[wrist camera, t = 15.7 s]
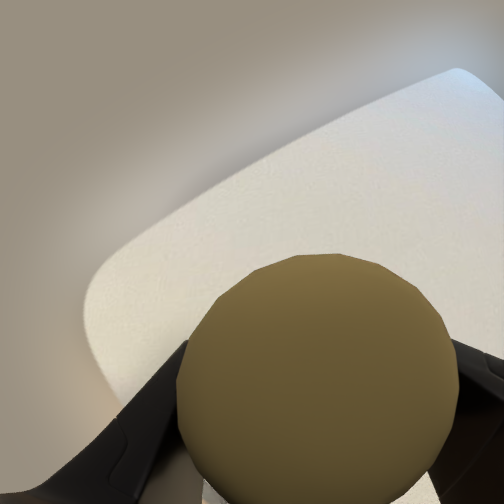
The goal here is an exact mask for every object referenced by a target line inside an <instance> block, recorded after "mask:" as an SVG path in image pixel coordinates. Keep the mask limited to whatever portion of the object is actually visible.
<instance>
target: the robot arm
mask: <svg viewBox="0 0 504 504" xmlns="http://www.w3.org/2000/svg"><path fill="white" fill-rule="evenodd" d="M450 339H451V338H450ZM188 341H189V340H185V341H184V342H183V343H182V344H181V345H180V346H179V348H178V349H177V350H176V351H175V352H174V353H173V354H172V355H171V356H170V358H169V359H168V360H167V361H166V362H165V363H164V364H163V365H162V366H161V368H160V369H159V370H158V371H157V372H156V373H155V374H154V375H153V376H152V378H151V379H150V380H149V381H148V382H147V383H146V384H145V385H144V386H143V387H142V389H141V390H140V391H139V392H138V393H137V394H136V395H135V396H134V397H133V399H132V400H131V401H130V402H129V403H128V404H127V405H126V406H125V407H124V408H123V409H122V411H121V412H120V413H119V414H118V415H117V416H116V418H117V419H116V418H114V419H113V420H112V422H110V424H109V425H108V426H107V427H106V428H105V429H104V430H103V431H102V432H101V433H100V434H99V435H98V436H97V437H96V438H95V439H94V440H93V441H92V442H91V443H90V444H89V445H88V446H87V447H85V449H83V450H82V451H81V452H80V453H79V454H78V455H76V456H75V457H74V458H73V459H72V460H71V461H69V462H68V463H67V464H66V465H65V466H64V467H62V468H61V469H60V470H59V471H57V472H56V473H55V474H54V475H53V476H51V477H50V478H49V479H48V480H46V481H45V482H44V483H42V484H41V485H39V486H37V487H35V488H33V489H31V490H27V491H24V492H16V493H6V494H0V504H202V493H203V477H202V476H201V475H200V474H199V472H198V471H197V470H196V468H195V466H194V464H193V461H192V459H191V457H190V455H189V452H188V450H187V448H186V445H185V443H184V440H183V438H182V436H181V433H180V431H179V428H178V413H177V388H176V379H177V376H178V373H179V370H180V366H181V363H182V360H183V357H184V353H185V350H186V347H187V344H188ZM451 341H452V344H453V346H454V349H455V352H456V360H457V369H458V380H459V394H458V399H457V405H456V410H455V415H454V420H453V424H452V428H451V430H450V433H449V435H448V437H447V439H446V441H445V443H444V445H443V447H442V449H441V450H440V452H439V454H438V456H437V458H436V460H435V461H434V463H433V465H432V466H431V467H430V468H429V469H428V470H427V472H428V474H429V476H430V479H431V481H432V483H433V486H434V488H435V490H436V493H437V495H438V497H439V501H440V503H441V504H504V360H502V359H500V358H497V357H494V356H492V355H490V354H487V353H483V352H482V351H480V350H477V349H475V348H473V347H470V346H468V345H465V344H463V343H460V342H458V341H455V340H453V339H451Z"/></svg>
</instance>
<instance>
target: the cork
mask: <svg viewBox="0 0 504 504" xmlns="http://www.w3.org/2000/svg"><path fill="white" fill-rule="evenodd" d="M176 388H177V413H178V428H179V431H180V433H181V436H182V438H183V440H184V443H185V445H186V448H187V450H188V452H189V455H190V457H191V459H192V461H193V464H194V466H195V468H196V470H197V471H198V472H199V474H200V475H201V476H202V477H203V478H204V479H205V480H206V481H207V482H208V483H209V484H210V485H211V486H212V487H213V488H214V489H215V490H216V491H217V492H218V493H219V494H220V495H221V496H222V497H223V498H224V499H225V500H226V501H227V502H228V503H229V504H389V503H391V502H393V501H395V500H396V499H398V498H399V497H401V496H403V495H404V494H405V493H406V492H407V491H408V490H409V489H410V488H411V487H412V486H413V485H414V484H415V483H416V482H417V481H418V480H419V479H420V478H421V477H422V476H423V475H424V474H425V473H426V471H427V470H428V469H429V468H430V467H431V466H432V465H433V463H434V461H435V460H436V458H437V456H438V454H439V452H440V450H441V449H442V447H443V445H444V443H445V441H446V439H447V437H448V435H449V433H450V430H451V428H452V424H453V420H454V415H455V410H456V405H457V399H458V394H459V380H458V369H457V360H456V352H455V349H454V346H453V344H452V341H451V339H450V336H449V334H448V332H447V329H446V327H445V325H444V322H443V320H442V318H441V316H440V315H439V313H438V312H437V311H436V310H435V309H434V307H433V306H432V305H431V304H430V303H429V301H428V300H427V299H426V298H425V297H424V296H423V294H422V293H421V292H420V291H419V290H418V289H417V287H415V286H413V285H412V284H410V283H409V282H407V281H406V280H404V279H402V278H401V277H399V276H398V275H396V274H394V273H393V272H391V271H390V270H388V269H386V268H385V267H383V266H381V265H379V264H377V263H373V262H369V261H365V260H361V259H358V258H354V257H350V256H346V255H342V254H319V255H297V256H294V257H291V258H288V259H285V260H282V261H280V262H277V263H274V264H271V265H269V266H266V267H263V268H260V269H257V270H255V271H253V272H252V273H251V274H249V275H248V276H247V277H245V278H244V279H243V280H241V281H240V282H239V283H237V284H236V285H235V286H233V287H232V288H231V289H229V290H228V291H227V292H225V293H224V294H222V295H221V296H220V297H218V298H217V300H216V301H215V303H214V304H213V305H212V307H211V308H210V310H209V311H208V312H207V314H206V315H205V317H204V318H203V319H202V321H201V322H200V324H199V325H198V326H197V328H196V329H195V330H194V332H193V333H192V335H191V336H190V338H189V341H188V344H187V347H186V350H185V353H184V357H183V360H182V363H181V366H180V370H179V373H178V376H177V379H176Z"/></svg>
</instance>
